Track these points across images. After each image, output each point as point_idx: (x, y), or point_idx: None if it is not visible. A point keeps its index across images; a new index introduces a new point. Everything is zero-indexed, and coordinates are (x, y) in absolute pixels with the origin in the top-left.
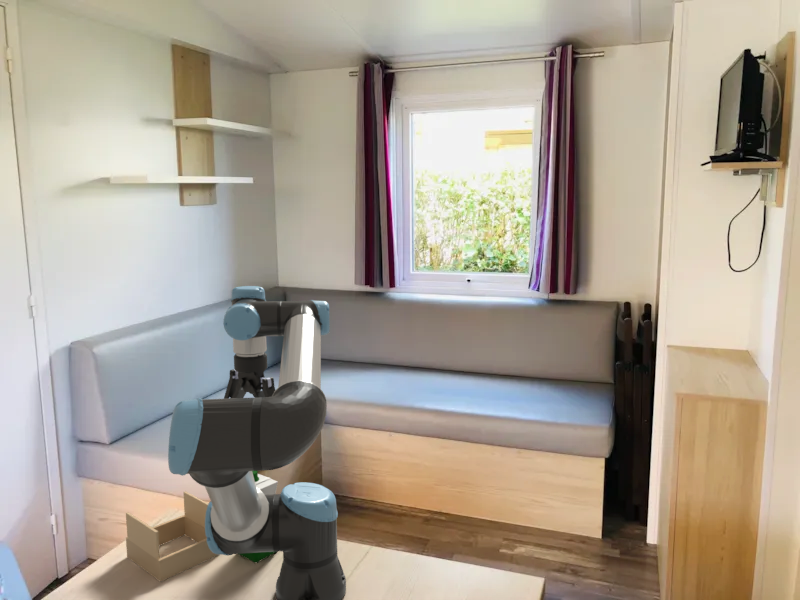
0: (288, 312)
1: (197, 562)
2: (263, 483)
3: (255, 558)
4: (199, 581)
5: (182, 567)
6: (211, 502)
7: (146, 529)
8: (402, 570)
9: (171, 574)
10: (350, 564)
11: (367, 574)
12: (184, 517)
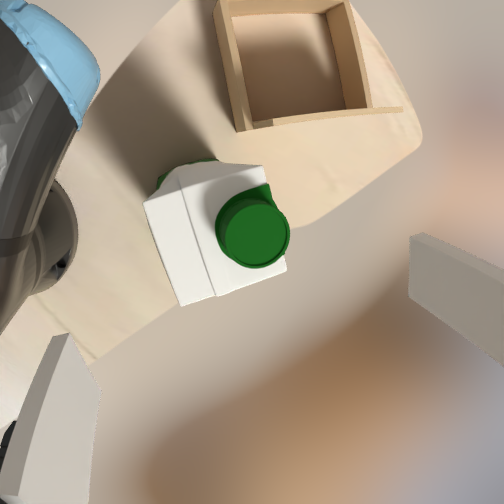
0: None
1: (227, 81)
2: (193, 260)
3: (159, 178)
4: (166, 65)
5: (221, 49)
6: (4, 3)
7: None
8: (31, 367)
9: (217, 30)
10: (70, 320)
11: (35, 326)
12: (364, 107)
